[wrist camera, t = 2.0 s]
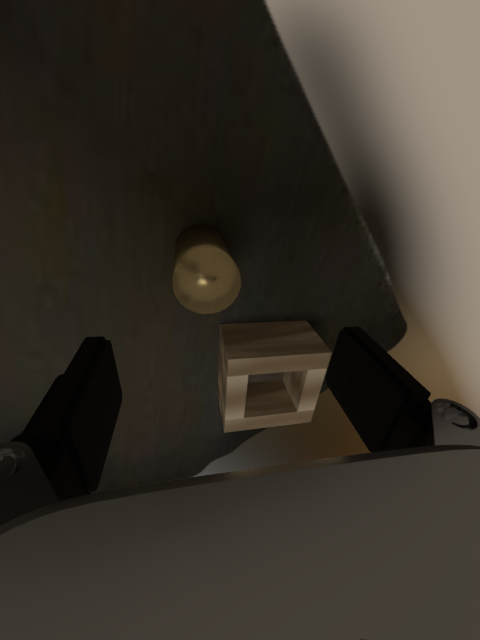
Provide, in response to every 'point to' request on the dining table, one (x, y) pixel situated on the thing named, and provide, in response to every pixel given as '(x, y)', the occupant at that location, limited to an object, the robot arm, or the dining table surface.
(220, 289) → the banded brass cylinder
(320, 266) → the dining table surface
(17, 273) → the dining table surface
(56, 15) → the dining table surface
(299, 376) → the frame
